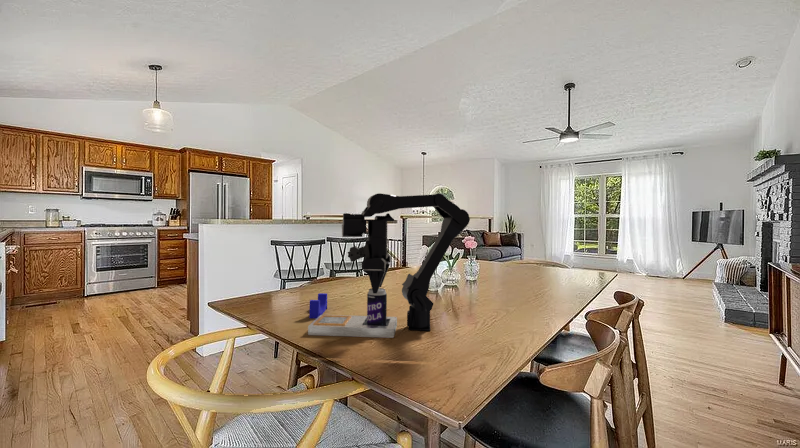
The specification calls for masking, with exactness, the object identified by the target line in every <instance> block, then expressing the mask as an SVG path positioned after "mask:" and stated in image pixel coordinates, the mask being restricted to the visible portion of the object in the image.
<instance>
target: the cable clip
mask: <svg viewBox="0 0 800 448" xmlns="http://www.w3.org/2000/svg"><path fill="white" fill-rule="evenodd" d="M327 309H328V293H320V292H319V293H318V294H317V299H310V300H309V316H308V318H309V319H317V318H318V317H319V316H320V315H324V313H325V312H326V310H327Z"/></svg>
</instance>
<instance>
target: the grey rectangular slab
mask: <svg viewBox="0 0 800 448" xmlns="http://www.w3.org/2000/svg"><path fill="white" fill-rule="evenodd" d="M397 326H398V316H386V326H369V325H367V315H350V314H349V315H347V314H344V315H343V314H322V315H320V316H319V317H318V318H314V320H313V321H312V322H311V323H310V324H309V325H308V326H307V335H308V336H327V337H330V336H331V337H355V338H357V337H358V338H359V337H361V338H385V339H386V338H388V339H392V338H393V339H394V337H395V334H396V330H397Z"/></svg>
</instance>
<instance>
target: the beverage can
mask: <svg viewBox="0 0 800 448" xmlns="http://www.w3.org/2000/svg"><path fill="white" fill-rule="evenodd" d="M366 295H367V296H366V299H367V300H366V301H367V302H366V306H367V307H366V316H367V325H369V326H386V317H388V316H387V313H388V311H387V305H388V304H387V301H388V300H387V299H388V298H387V297H388V295H387V290H386V288H383V287H379V289H378V292H377V293H373V291H372V288H369V289H368V292H367V294H366Z"/></svg>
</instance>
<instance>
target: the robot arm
mask: <svg viewBox="0 0 800 448" xmlns="http://www.w3.org/2000/svg"><path fill="white" fill-rule="evenodd" d="M430 207H431V208H432V207H433V208H434V209H435V211H436V212H437V213H438V214H439V216H441V218H443V219H442V222H441V225H440V226H441V227H440V232H439V234H438V236H437V237H436V239H435V241H434V242H433V244H432V246H431V248H430V250H429V251H428V253H427V255H426V257H425V258H424V259H423V261H422V263H421V264H420V267H419V268H418V270H417V271H416V272H415V273H414V274H413V275H412V274H410V273H408V274H407V275H406V279H405V281H404V282H402V283H401V285H402V288H401V294H402V296H403V298H404V299H405V300H406V301H407V304H408V305H409V306H408V308H409V309H408V310H407V313H406V315H407V316H406V326H407V327H408V328H407V329H408V331H431V310H433V306H434V302H433V301H432V300H431V299H430V298H429V297H428V295H427V294H428V292H429V289H430V284H431V278H432V277H433V275H434V273H435V272H436V271H437V268H438V266H439V265H440V263H441V262H442V259H443V258H444V256H445V255H446V254H447V251H448V249H449V248H450V246H451V244H452V242H453V241H454V240H455V238H457V236H459V235H460V234H461V233H462V232H463V231H464V230H465V229H466V228H467V227H468V225H469V224H470V220H471V218H470V215H469V213H468V212H467V210H465V209H462V208H460V207H459V205H457V204H455V203H454V202H452V201H451V200H449V199H448V198H447V197H446V196H445V195H444V194H443V193H435V194H419V195H417V194H416V195H395V194H390V193H389V194H388V193H380V192H378V193H375V194H373V195H371V196H370V197H369V198H368V199H367V200H366V207H365V208H364V209H363V211H361V213H358V214H357V213H356V214H355V213H349V212H348V213H346V212H345V213H343V214H342V223H341V237H342V238H362V237H363V234H366V233H367V240H366V241H365V245H364V246H361V247H358V246H357V245H355V246H352V247H350V248H349V251H347V257H348V258H349V260H350V262H351V263H354V262H355V261H357V260H360V259H362V258H364V260H362V261H361V270H362V271H363V272H364V273H366V275H368V277H369V282H370V285H371V289H372V291H373V293H377V292H378V289H379V288H382V286H383V283H384V280H385V278H386V276H387V273H388V270H389V268H390V265H391V261H392V257H391V254H390V253H388V244H389V240H388V222H395V219H394V218H393V217H392V216H391V214H390V213H388V212H392V211H397V210H400V209H402V210H403V209H412V208H413V209H415V208H430ZM384 213H386V214H385V215H378V214H384ZM376 214H377V215H376ZM374 215H375V217H374ZM369 217H374V218H373V219H370V218H369ZM366 218H367V219H366ZM368 218H369V219H368Z"/></svg>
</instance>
